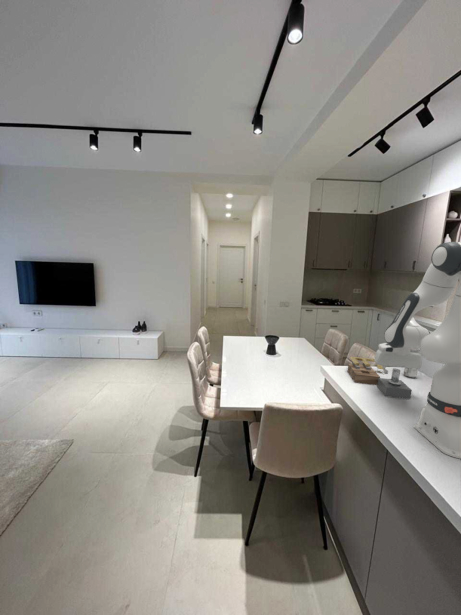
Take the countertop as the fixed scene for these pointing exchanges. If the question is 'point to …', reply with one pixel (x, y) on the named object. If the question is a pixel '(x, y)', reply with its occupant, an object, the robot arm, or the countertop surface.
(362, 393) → the countertop surface
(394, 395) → the grey square holed piece
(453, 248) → the robot arm
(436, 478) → the countertop surface
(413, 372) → the plastic bottle
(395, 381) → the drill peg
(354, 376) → the socket block
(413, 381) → the countertop surface
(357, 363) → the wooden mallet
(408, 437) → the countertop surface
